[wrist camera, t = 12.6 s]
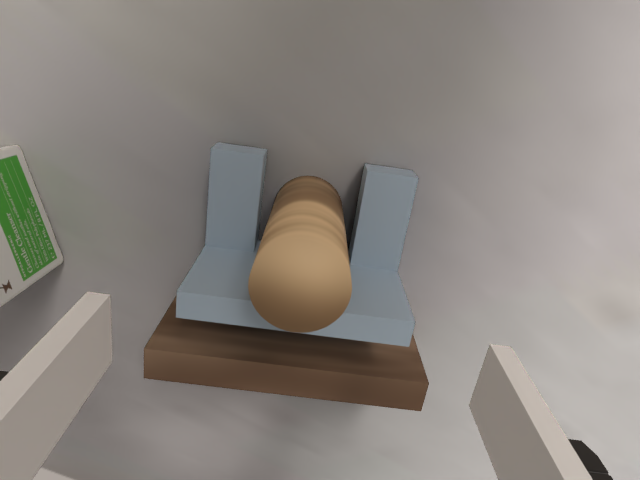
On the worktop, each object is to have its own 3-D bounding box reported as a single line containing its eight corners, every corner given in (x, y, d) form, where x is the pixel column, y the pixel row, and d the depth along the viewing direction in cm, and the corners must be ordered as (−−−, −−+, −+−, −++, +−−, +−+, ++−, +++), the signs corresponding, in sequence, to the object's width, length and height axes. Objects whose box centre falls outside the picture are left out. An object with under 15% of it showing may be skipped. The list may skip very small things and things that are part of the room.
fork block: (218, 142, 28) (180, 172, 21) (412, 170, 29) (443, 209, 21) (208, 294, 32) (174, 366, 25) (380, 316, 33) (397, 393, 25)
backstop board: (180, 289, 32) (143, 348, 26) (407, 318, 33) (428, 383, 26) (179, 314, 33) (143, 378, 26) (401, 342, 34) (420, 411, 27)
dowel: (278, 170, 29) (253, 232, 19) (347, 181, 29) (360, 248, 19) (270, 236, 31) (243, 325, 20) (336, 245, 31) (342, 338, 21)
